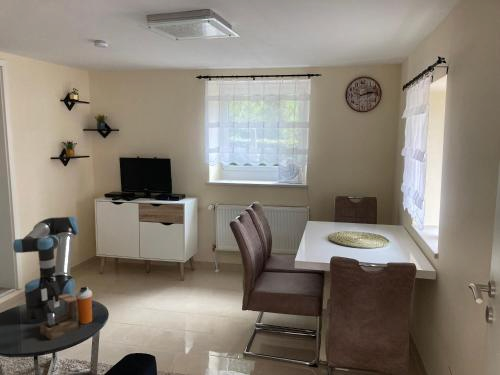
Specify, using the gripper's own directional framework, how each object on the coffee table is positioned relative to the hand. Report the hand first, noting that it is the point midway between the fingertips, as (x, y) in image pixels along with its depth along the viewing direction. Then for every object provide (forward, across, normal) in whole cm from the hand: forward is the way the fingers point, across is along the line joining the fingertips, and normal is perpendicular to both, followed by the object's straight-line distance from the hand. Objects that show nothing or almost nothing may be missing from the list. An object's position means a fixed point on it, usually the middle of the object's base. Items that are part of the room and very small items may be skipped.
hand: (50, 303), depth 225 cm
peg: (+17, 0, 0) cm, 17 cm away
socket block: (+17, 0, +4) cm, 18 cm away
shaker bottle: (+18, +2, +19) cm, 26 cm away
